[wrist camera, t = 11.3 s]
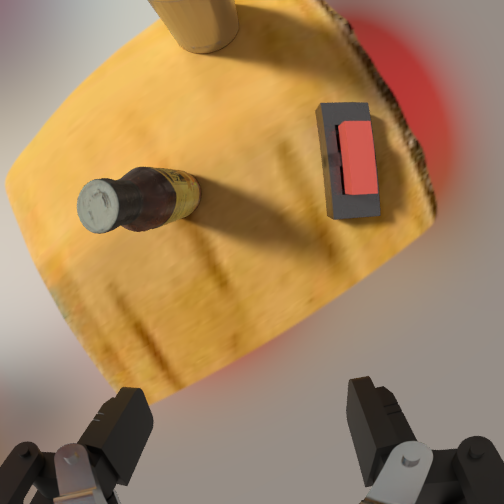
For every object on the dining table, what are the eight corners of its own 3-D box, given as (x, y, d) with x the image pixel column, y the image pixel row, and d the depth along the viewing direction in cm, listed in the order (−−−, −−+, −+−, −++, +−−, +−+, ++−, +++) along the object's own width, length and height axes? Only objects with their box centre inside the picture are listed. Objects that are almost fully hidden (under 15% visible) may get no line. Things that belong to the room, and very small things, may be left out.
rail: (315, 110, 35) (320, 102, 31) (358, 109, 35) (367, 102, 31) (327, 215, 38) (333, 219, 34) (369, 212, 38) (380, 215, 34)
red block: (331, 131, 35) (344, 120, 28) (353, 131, 35) (370, 121, 28) (337, 192, 37) (352, 194, 30) (359, 191, 37) (377, 193, 30)
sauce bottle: (204, 171, 38) (144, 161, 18) (201, 218, 39) (141, 252, 20) (157, 170, 38) (68, 163, 19) (155, 215, 39) (68, 245, 20)
